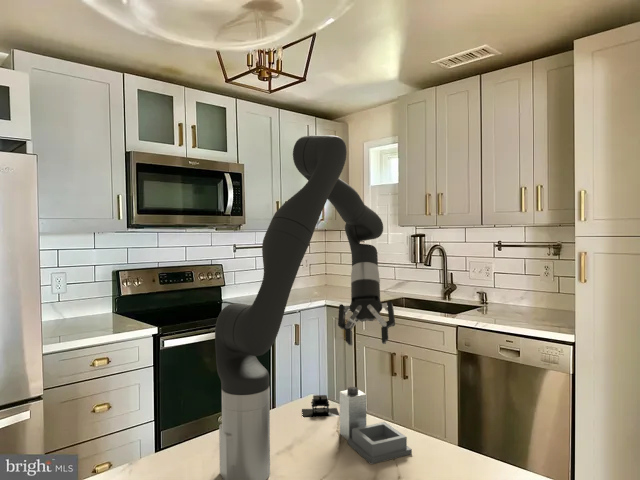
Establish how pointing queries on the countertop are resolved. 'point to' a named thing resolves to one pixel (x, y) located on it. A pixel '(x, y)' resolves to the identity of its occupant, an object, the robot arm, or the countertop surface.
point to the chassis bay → (379, 442)
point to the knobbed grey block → (352, 411)
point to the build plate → (320, 412)
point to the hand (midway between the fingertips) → (366, 344)
